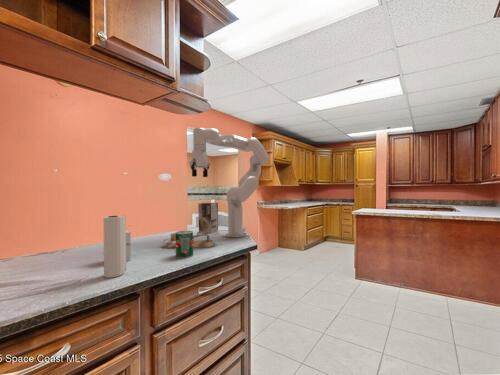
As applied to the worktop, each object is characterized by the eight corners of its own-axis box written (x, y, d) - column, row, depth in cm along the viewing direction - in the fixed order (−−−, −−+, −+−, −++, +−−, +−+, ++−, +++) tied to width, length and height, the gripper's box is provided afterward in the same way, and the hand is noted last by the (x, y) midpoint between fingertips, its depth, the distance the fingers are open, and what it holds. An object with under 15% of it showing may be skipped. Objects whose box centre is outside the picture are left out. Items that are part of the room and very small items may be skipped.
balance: (160, 248, 127) (160, 235, 127) (166, 243, 139) (166, 231, 139) (218, 247, 129) (218, 234, 129) (219, 242, 141) (219, 230, 141)
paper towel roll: (103, 279, 84) (103, 217, 85) (104, 274, 90) (103, 216, 90) (126, 275, 88) (126, 216, 88) (126, 270, 93) (125, 214, 93)
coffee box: (218, 231, 135) (218, 202, 135) (211, 233, 130) (210, 203, 130) (205, 230, 140) (205, 202, 140) (198, 232, 134) (197, 203, 134)
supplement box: (112, 264, 101) (112, 234, 101) (106, 261, 106) (106, 232, 106) (131, 260, 107) (130, 231, 107) (124, 257, 112) (124, 229, 112)
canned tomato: (196, 255, 114) (196, 231, 114) (182, 259, 108) (182, 234, 108) (186, 252, 119) (186, 230, 119) (172, 256, 113) (171, 232, 113)
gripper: (204, 150, 158) (204, 177, 158) (184, 147, 143) (185, 176, 143) (213, 149, 154) (213, 177, 154) (194, 146, 139) (194, 176, 139)
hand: (200, 176), depth 149 cm, fingers open, 9 cm apart
